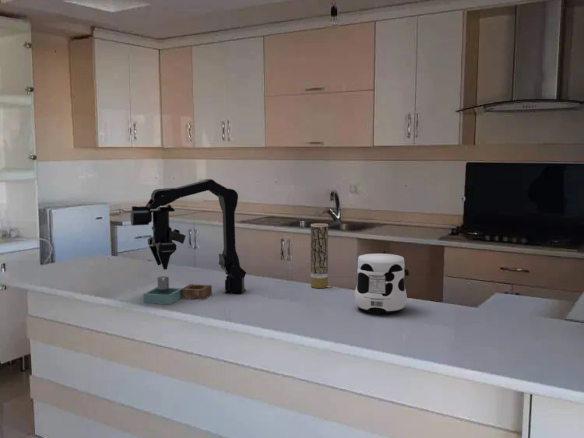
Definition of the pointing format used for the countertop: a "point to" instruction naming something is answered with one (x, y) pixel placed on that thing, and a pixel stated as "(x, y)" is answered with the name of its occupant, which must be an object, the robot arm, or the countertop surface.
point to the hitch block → (196, 291)
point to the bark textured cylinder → (319, 255)
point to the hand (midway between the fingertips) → (162, 267)
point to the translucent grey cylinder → (163, 285)
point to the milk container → (380, 283)
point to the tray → (162, 296)
